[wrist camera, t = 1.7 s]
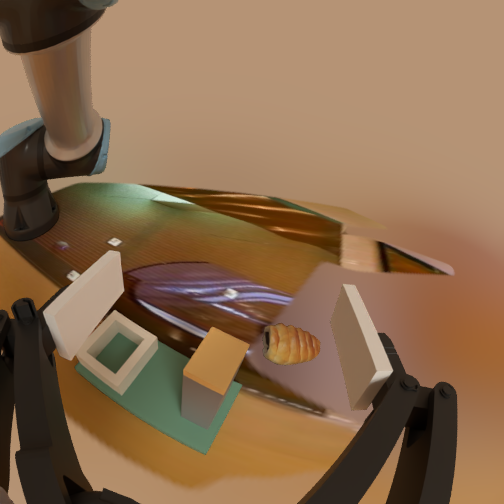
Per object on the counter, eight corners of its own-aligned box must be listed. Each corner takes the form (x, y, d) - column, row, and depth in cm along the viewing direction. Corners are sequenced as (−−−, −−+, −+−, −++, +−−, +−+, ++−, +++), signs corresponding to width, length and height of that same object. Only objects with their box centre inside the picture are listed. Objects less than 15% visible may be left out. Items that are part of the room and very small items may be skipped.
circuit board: (76, 371, 28) (74, 367, 28) (121, 321, 37) (120, 316, 36) (205, 455, 25) (206, 453, 24) (240, 388, 34) (242, 385, 33)
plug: (181, 416, 28) (183, 369, 19) (199, 386, 31) (212, 326, 23) (207, 430, 27) (225, 391, 19) (224, 398, 31) (249, 344, 22)
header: (80, 363, 28) (74, 352, 27) (117, 322, 35) (114, 309, 33) (122, 395, 27) (117, 387, 25) (158, 348, 34) (157, 337, 32)
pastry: (313, 334, 44) (322, 321, 42) (319, 369, 39) (330, 357, 37) (260, 329, 43) (266, 315, 41) (261, 366, 38) (269, 354, 35)
